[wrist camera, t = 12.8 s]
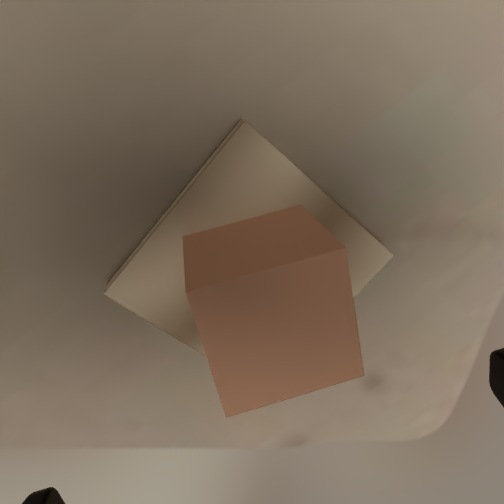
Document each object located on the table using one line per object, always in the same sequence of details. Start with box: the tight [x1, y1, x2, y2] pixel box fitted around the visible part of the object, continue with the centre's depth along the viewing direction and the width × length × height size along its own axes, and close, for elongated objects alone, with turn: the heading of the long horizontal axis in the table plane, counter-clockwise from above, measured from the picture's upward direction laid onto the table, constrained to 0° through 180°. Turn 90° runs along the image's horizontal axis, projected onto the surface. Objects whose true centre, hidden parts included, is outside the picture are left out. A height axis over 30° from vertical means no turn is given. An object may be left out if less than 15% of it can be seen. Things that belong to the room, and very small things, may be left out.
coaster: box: [104, 118, 394, 356], centre depth 19 cm, size 9×9×1 cm
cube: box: [182, 205, 364, 418], centre depth 16 cm, size 5×5×5 cm
